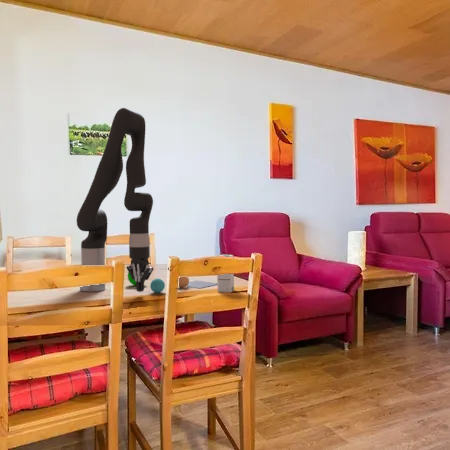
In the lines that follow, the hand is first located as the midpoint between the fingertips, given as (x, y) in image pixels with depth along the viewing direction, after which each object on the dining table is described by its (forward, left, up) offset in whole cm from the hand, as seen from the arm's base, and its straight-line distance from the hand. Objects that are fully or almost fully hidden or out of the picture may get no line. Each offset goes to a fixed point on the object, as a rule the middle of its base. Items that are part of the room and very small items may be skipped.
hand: (140, 291), depth 158 cm
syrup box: (+33, +10, -2) cm, 34 cm away
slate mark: (+21, +26, -2) cm, 33 cm away
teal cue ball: (+6, +7, +1) cm, 9 cm away
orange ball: (+15, +18, +1) cm, 23 cm away
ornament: (-5, +24, -2) cm, 25 cm away
